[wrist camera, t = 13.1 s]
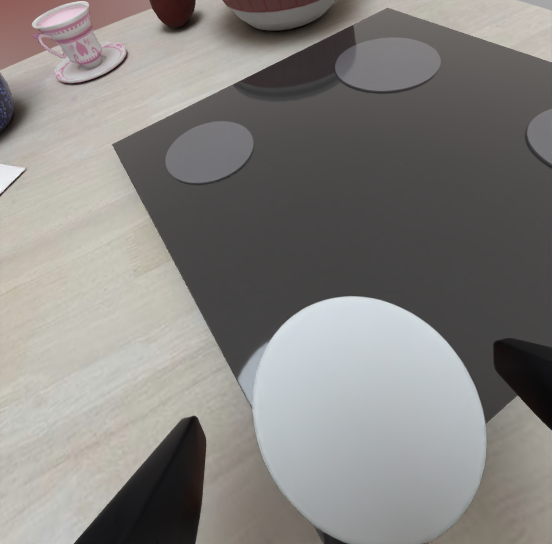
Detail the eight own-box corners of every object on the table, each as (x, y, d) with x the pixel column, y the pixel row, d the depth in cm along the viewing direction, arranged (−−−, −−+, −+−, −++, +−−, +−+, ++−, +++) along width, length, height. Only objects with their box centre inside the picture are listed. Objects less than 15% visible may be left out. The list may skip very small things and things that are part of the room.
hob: (765, 162, 19) (802, 142, 18) (330, 545, 13) (332, 563, 11) (384, 22, 36) (387, 5, 35) (120, 155, 30) (110, 142, 28)
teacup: (111, 39, 46) (83, -9, 41) (139, 57, 41) (113, 5, 36) (48, 70, 44) (10, 23, 38) (71, 94, 39) (31, 43, 33)
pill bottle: (340, 330, 16) (370, 235, 7) (413, 421, 13) (602, 448, 5) (261, 386, 15) (187, 357, 6) (323, 496, 12) (343, 707, 4)
